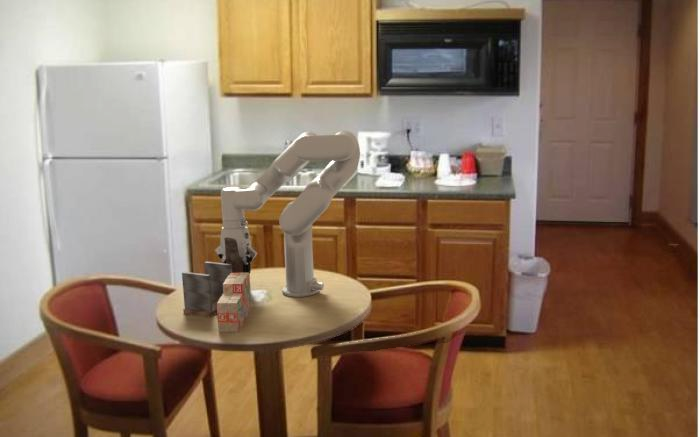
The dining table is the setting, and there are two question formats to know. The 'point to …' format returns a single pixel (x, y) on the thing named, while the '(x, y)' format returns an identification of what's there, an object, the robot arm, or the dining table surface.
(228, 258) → the dark upright piece
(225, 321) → the stack of blocks
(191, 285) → the shelf
